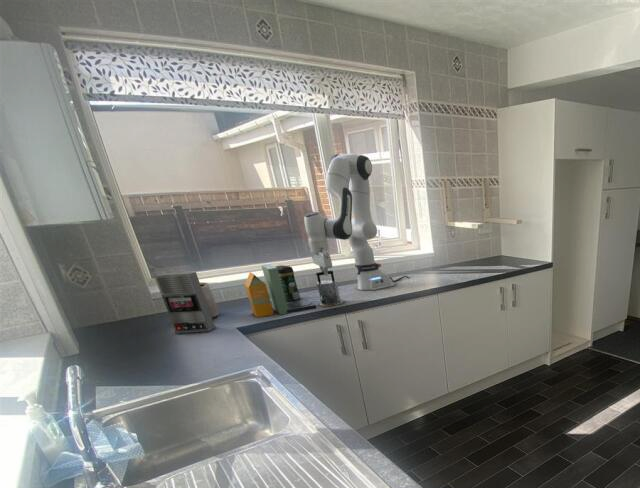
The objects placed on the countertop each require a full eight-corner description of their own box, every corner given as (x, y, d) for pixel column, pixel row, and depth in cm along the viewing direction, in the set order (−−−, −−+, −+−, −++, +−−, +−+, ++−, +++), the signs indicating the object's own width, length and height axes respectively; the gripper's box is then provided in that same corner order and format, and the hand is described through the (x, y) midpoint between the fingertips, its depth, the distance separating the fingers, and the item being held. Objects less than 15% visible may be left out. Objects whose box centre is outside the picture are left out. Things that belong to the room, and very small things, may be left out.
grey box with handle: (337, 299, 230) (330, 268, 223) (345, 303, 222) (338, 272, 214) (319, 302, 225) (311, 271, 218) (326, 307, 216) (319, 275, 209)
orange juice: (257, 317, 204) (244, 275, 195) (252, 313, 210) (240, 273, 201) (274, 313, 209) (263, 273, 200) (269, 310, 215) (258, 270, 206)
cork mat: (338, 299, 232) (338, 298, 232) (346, 303, 223) (346, 302, 223) (316, 303, 225) (316, 302, 225) (323, 307, 217) (323, 306, 217)
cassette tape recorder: (175, 334, 183) (152, 276, 172) (182, 330, 188) (160, 273, 178) (209, 331, 185) (188, 274, 174) (215, 327, 190) (196, 271, 179)
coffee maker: (308, 302, 228) (298, 260, 218) (317, 307, 217) (306, 264, 208) (273, 308, 218) (261, 265, 208) (280, 314, 207) (267, 269, 198)
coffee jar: (279, 300, 234) (270, 266, 226) (292, 297, 240) (284, 263, 231) (289, 302, 229) (280, 267, 221) (302, 299, 235) (294, 265, 227)
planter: (168, 325, 195) (155, 292, 188) (187, 315, 211) (175, 283, 204) (210, 322, 198) (199, 289, 191) (225, 312, 214) (215, 281, 207)
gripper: (332, 248, 206) (338, 276, 212) (319, 244, 221) (325, 271, 227) (319, 249, 203) (325, 278, 209) (306, 246, 217) (313, 273, 223)
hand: (325, 275), depth 218 cm, fingers closed on grey box with handle, 2 cm apart
